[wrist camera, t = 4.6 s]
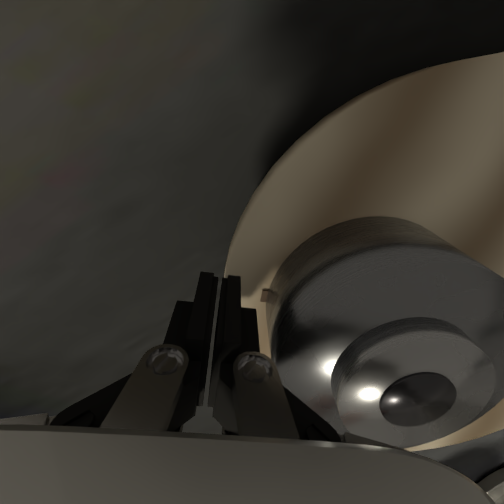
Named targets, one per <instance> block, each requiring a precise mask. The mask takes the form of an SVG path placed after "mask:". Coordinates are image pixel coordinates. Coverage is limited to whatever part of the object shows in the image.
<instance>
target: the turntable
mask: <svg viewBox="0 0 504 504" xmlns="http://www.w3.org/2000/svg"><path fill="white" fill-rule="evenodd" d="M371 216H386V217H396V218H400V219H405V220H409V221H411V222H414V223H416V224H419V225H421V226H423V227H424V228H426V229H428V230H429V231H431V232H433V233H434V234H436V235H437V236H439V237H440V238H442V239H444V240H445V241H447V242H448V243H450V244H451V245H453V246H454V247H456V248H458V249H459V250H461V251H462V252H464V253H465V254H467V255H469V256H470V257H472V258H473V259H475V260H476V261H478V262H479V263H481V264H483V265H484V266H486V267H487V268H489V269H490V270H492V271H493V272H495V273H497V274H498V275H500V276H501V277H503V278H504V52H501V53H496V54H490V55H485V56H480V57H474V58H469V59H464V60H459V61H454V62H450V63H445V64H441V65H436V66H432V67H427V68H424V69H421V70H418V71H415V72H412V73H409V74H406V75H403V76H400V77H397V78H394V79H391V80H389V81H387V82H385V83H383V84H381V85H378V86H376V87H374V88H372V89H370V90H368V91H366V92H364V93H362V94H360V95H358V96H356V97H354V98H353V99H351V100H350V101H348V102H347V103H345V104H343V105H342V106H340V107H339V108H337V109H336V110H334V111H333V112H331V113H330V114H328V115H327V116H325V117H324V118H322V119H321V120H320V121H319V122H318V123H316V124H315V125H314V126H313V127H312V128H311V129H309V130H308V131H307V132H306V133H305V134H303V135H302V136H301V137H300V138H299V139H297V140H296V141H295V142H294V143H293V145H292V146H291V147H290V148H289V149H288V150H287V151H286V152H285V153H284V154H283V155H282V156H281V157H280V159H279V160H278V161H277V162H276V163H275V164H274V165H273V166H272V167H271V169H270V170H269V172H268V173H267V174H266V176H265V177H264V179H263V180H262V181H261V183H260V184H259V186H258V187H257V188H256V190H255V191H254V193H253V195H252V196H251V198H250V200H249V202H248V204H247V206H246V208H245V209H244V211H243V213H242V215H241V217H240V219H239V222H238V224H237V227H236V230H235V232H234V235H233V238H232V240H231V243H230V247H229V251H228V256H227V261H226V265H225V270H224V278H227V277H228V275H234V276H241V307H245V308H254V309H256V311H257V322H258V334H259V346H260V353H262V354H265V355H266V356H268V357H269V358H270V359H271V354H270V345H269V337H268V329H267V321H266V300H267V294H268V291H269V288H270V285H271V282H272V280H273V278H274V276H275V274H276V272H277V271H278V269H279V268H280V266H281V265H282V263H283V262H284V261H285V260H286V258H287V257H288V256H289V255H290V254H291V253H292V252H293V251H294V250H295V249H296V248H297V247H298V246H299V245H300V244H302V243H303V242H304V241H306V240H307V239H309V238H310V237H311V236H313V235H315V234H316V233H318V232H320V231H322V230H324V229H325V228H328V227H330V226H333V225H335V224H338V223H340V222H344V221H348V220H351V219H356V218H362V217H371ZM502 429H504V398H503V399H502V400H501V401H500V402H499V403H498V404H497V405H496V406H495V407H493V408H492V409H491V410H489V411H488V412H487V413H486V414H484V415H483V416H482V417H480V418H479V419H477V420H476V421H474V422H472V423H471V424H469V425H467V426H466V427H464V428H462V429H460V430H458V431H456V432H454V433H452V434H450V435H447V436H445V437H443V438H440V439H437V440H435V441H432V442H429V443H425V444H422V445H418V446H415V447H410V448H405V450H407V451H418V450H426V449H433V448H439V447H444V446H448V445H453V444H458V443H462V442H465V441H469V440H472V439H476V438H479V437H482V436H485V435H488V434H491V433H493V432H496V431H499V430H502Z"/></svg>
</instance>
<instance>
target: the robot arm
mask: <svg viewBox="0 0 504 504" xmlns="http://www.w3.org/2000/svg"><path fill="white" fill-rule="evenodd" d="M213 276H214V273H208V272H201V273H200V277H199V282H198V286H197V290H196V294H195V299H194V302H187V301H177V303H176V305H175V309H174V312H173V315H172V318H171V321H170V324H169V327H168V330H167V333H166V337H165V340H164V343H163V344H162V345H158V346H155V347H152V348H151V349H149V350H148V351H147V352H146V353H145V354H144V355H143V356H142V358H141V360H140V361H139V363H138V365H137V366H136V368H135V370H134V371H133V373H131V374H129V375H128V376H126V377H124V378H122V379H120V380H118V381H116V382H114V383H113V384H111V385H109V386H107V387H105V388H103V389H101V390H99V391H98V392H96V393H94V394H92V395H90V396H88V397H86V398H84V399H83V400H81V401H79V402H77V403H75V404H73V405H71V406H69V407H68V408H66V409H65V410H63V411H62V412H60V413H59V414H58V415H57V416H52V417H49V416H48V413H44V414H37V415H29V416H22V417H14V418H7V419H0V504H504V467H503V468H501V469H499V470H497V471H495V472H493V473H492V474H490V475H488V476H487V477H485V478H484V479H482V480H481V481H480V482H479V483H477V484H476V483H475V482H473V481H472V480H471V479H469V478H468V477H466V476H464V475H463V474H461V473H460V472H458V471H456V470H454V469H452V468H450V467H448V466H446V465H444V464H441V463H439V462H437V461H435V460H432V459H430V458H427V457H424V456H421V455H418V454H415V453H412V452H410V451H407V450H405V449H402V448H399V447H396V446H392V445H389V444H385V443H382V442H379V441H375V440H372V439H368V438H365V437H361V436H358V435H355V434H351V433H348V432H345V433H344V435H341V434H338V433H337V431H336V430H335V429H334V428H333V427H332V426H331V425H330V424H329V423H328V422H327V421H325V420H324V419H323V418H322V417H320V416H319V415H318V414H317V413H316V412H314V411H313V410H312V409H311V408H310V407H308V406H307V405H306V404H305V403H304V402H302V401H301V400H300V399H299V398H297V397H296V396H295V395H294V394H293V393H291V392H290V391H289V390H288V389H287V388H285V387H284V386H283V385H282V382H281V379H280V376H279V373H278V370H277V367H276V365H275V363H274V362H273V361H272V360H271V359H270V358H269V357H268V356H266V355H265V354H262V353H260V346H259V334H258V322H257V311H256V309H254V308H245V307H241V276H234V275H228V277H227V278H222V285H221V293H220V300H219V308H218V316H217V323H216V331H215V340H214V350H213V359H212V369H211V378H210V387H209V397H208V407H213V417H214V418H215V419H216V420H217V421H218V422H219V423H220V424H221V425H222V435H219V434H202V433H185V432H182V430H183V424H184V423H185V422H187V421H188V420H189V419H191V418H192V417H193V416H195V413H196V406H203V399H204V391H205V383H206V375H207V367H208V358H209V350H210V342H211V334H212V326H213V318H214V310H215V301H216V293H217V285H218V277H213Z"/></svg>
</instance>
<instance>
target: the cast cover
mask: <svg viewBox="0 0 504 504" xmlns="http://www.w3.org/2000/svg"><path fill="white" fill-rule="evenodd" d="M266 321H267V329H268V337H269V345H270V354H271V360H272V361H273V362H274V363H275V365H276V367H277V370H278V373H279V376H280V379H281V382H282V385H283V386H284V387H285V388H287V389H288V390H289V391H290V392H291V393H293V394H294V395H295V396H296V397H297V398H299V399H300V400H301V401H302V402H304V403H305V404H306V405H307V406H308V407H310V408H311V409H312V410H313V411H314V412H316V413H317V414H318V415H319V416H320V417H322V418H323V419H324V420H325V421H327V422H328V423H329V424H330V425H331V426H332V427H333V428H334V429H335V430H336V431H337V433H338V434H341V435H344V433H345V432H348V433H351V434H355V435H358V436H361V437H365V438H368V439H372V440H375V441H379V442H382V443H385V444H389V445H392V446H396V447H399V448H402V449H405V448H410V447H415V446H418V445H422V444H425V443H429V442H432V441H435V440H437V439H440V438H443V437H445V436H447V435H450V434H452V433H454V432H456V431H458V430H460V429H462V428H464V427H466V426H467V425H469V424H471V423H472V422H474V421H476V420H477V419H479V418H480V417H482V416H483V415H484V414H486V413H487V412H488V411H489V410H491V409H492V408H493V407H495V406H496V405H497V404H498V403H499V402H500V401H501V400H502V399H503V398H504V278H503V277H501V276H500V275H498V274H497V273H495V272H493V271H492V270H490V269H489V268H487V267H486V266H484V265H483V264H481V263H479V262H478V261H476V260H475V259H473V258H472V257H470V256H469V255H467V254H465V253H464V252H462V251H461V250H459V249H458V248H456V247H454V246H453V245H451V244H450V243H448V242H447V241H445V240H444V239H442V238H440V237H439V236H437V235H436V234H434V233H433V232H431V231H429V230H428V229H426V228H424V227H423V226H421V225H419V224H416V223H414V222H411V221H409V220H405V219H400V218H396V217H386V216H371V217H362V218H356V219H351V220H348V221H344V222H340V223H338V224H335V225H333V226H330V227H328V228H325V229H324V230H322V231H320V232H318V233H316V234H315V235H313V236H311V237H310V238H309V239H307V240H306V241H304V242H303V243H302V244H300V245H299V246H298V247H297V248H296V249H295V250H294V251H293V252H292V253H291V254H290V255H289V256H288V257H287V258H286V260H285V261H284V262H283V263H282V265H281V266H280V268H279V269H278V271H277V272H276V274H275V276H274V278H273V280H272V282H271V285H270V288H269V291H268V294H267V300H266Z"/></svg>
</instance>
